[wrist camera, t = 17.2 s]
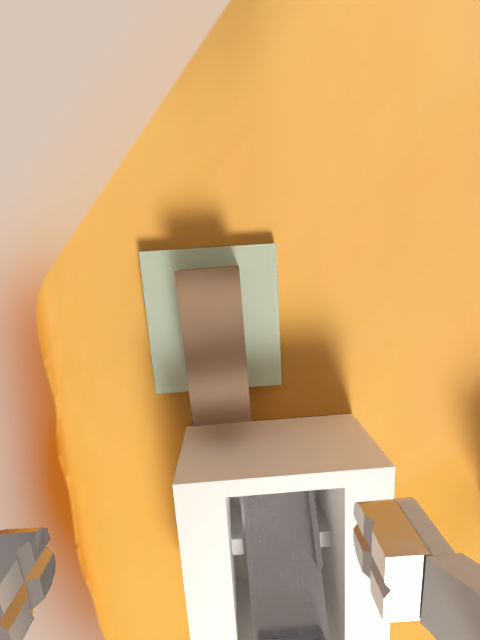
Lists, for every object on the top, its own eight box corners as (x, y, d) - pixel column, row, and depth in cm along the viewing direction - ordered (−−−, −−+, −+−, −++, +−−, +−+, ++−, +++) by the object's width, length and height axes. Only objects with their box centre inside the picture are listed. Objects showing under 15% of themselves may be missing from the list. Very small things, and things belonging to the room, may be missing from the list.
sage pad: (141, 252, 24) (138, 251, 23) (274, 243, 24) (276, 243, 23) (158, 390, 26) (155, 393, 25) (280, 380, 26) (281, 384, 25)
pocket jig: (186, 426, 26) (172, 484, 20) (352, 413, 27) (395, 466, 20) (203, 585, 30) (195, 684, 23) (351, 572, 30) (388, 665, 23)
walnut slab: (180, 269, 23) (174, 271, 21) (237, 265, 23) (239, 266, 21) (196, 408, 25) (192, 426, 23) (248, 403, 25) (251, 421, 23)
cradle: (240, 457, 27) (240, 461, 25) (304, 452, 27) (309, 455, 25) (252, 634, 23) (253, 655, 21) (325, 627, 23) (333, 648, 21)
